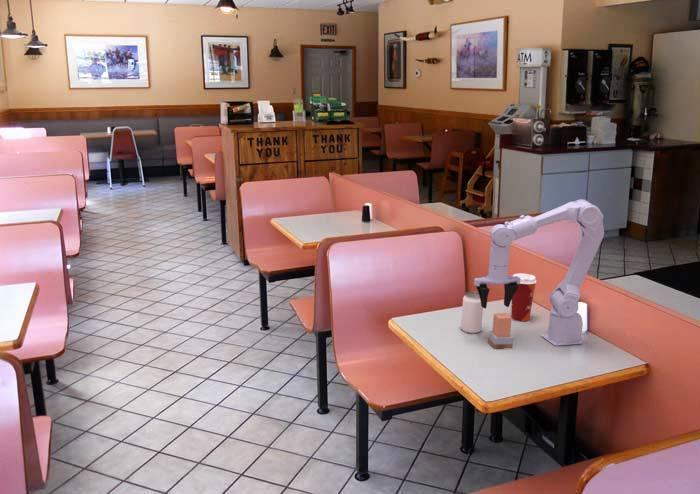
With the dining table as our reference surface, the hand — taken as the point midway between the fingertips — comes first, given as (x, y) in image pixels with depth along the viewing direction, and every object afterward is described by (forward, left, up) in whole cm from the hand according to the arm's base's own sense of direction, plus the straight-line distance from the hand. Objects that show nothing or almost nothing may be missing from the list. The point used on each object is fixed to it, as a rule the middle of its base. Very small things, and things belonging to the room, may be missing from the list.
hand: (495, 306), depth 196 cm
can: (+4, -8, -11) cm, 14 cm away
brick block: (0, +6, -7) cm, 9 cm away
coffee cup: (-17, -15, -11) cm, 25 cm away
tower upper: (0, +5, -9) cm, 10 cm away
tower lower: (0, +6, -11) cm, 12 cm away
